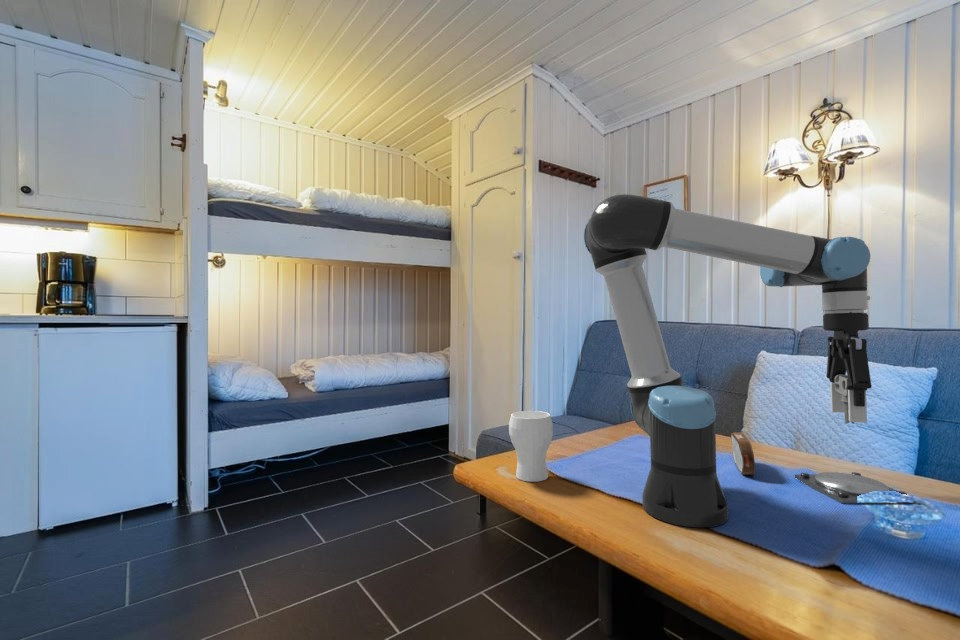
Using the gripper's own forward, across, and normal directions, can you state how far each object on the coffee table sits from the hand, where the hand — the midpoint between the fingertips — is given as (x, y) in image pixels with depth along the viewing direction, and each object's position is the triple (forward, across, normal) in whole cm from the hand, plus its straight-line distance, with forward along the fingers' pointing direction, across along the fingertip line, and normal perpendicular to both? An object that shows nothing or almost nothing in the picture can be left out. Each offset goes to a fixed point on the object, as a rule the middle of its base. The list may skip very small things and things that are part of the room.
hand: (848, 416), depth 95 cm
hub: (+16, 0, 0) cm, 16 cm away
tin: (+16, +8, +19) cm, 26 cm away
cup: (+16, -13, +66) cm, 70 cm away
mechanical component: (+2, 0, 0) cm, 2 cm away
